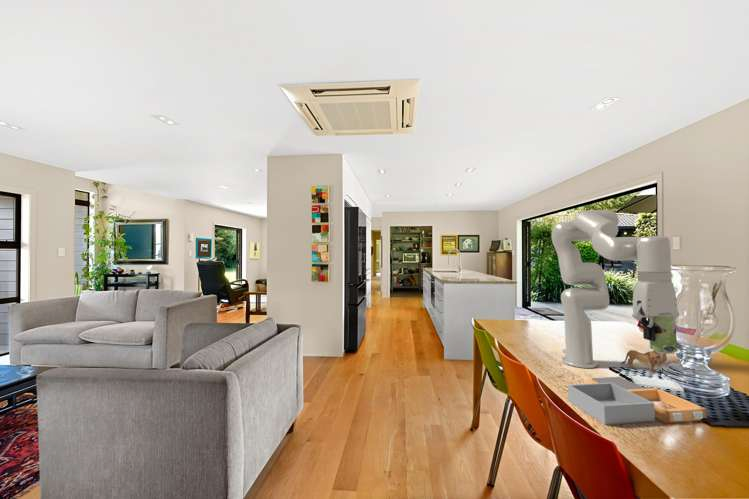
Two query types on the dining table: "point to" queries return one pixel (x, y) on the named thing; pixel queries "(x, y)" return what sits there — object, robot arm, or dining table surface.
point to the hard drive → (656, 383)
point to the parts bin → (611, 403)
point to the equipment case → (678, 414)
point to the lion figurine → (646, 359)
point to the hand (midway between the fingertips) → (656, 338)
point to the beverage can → (664, 334)
